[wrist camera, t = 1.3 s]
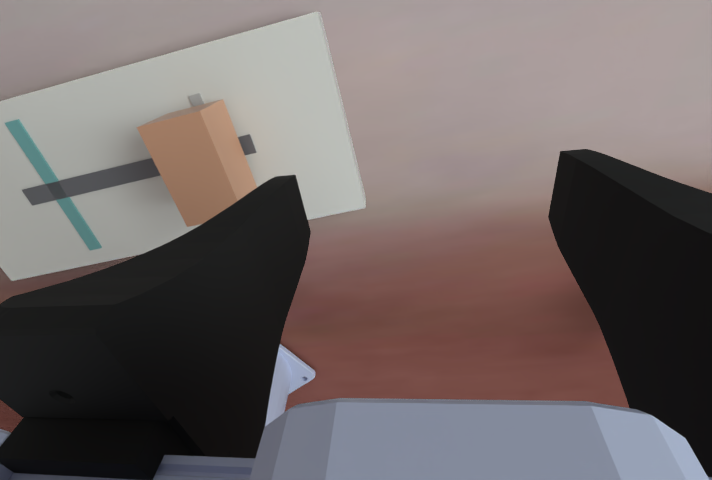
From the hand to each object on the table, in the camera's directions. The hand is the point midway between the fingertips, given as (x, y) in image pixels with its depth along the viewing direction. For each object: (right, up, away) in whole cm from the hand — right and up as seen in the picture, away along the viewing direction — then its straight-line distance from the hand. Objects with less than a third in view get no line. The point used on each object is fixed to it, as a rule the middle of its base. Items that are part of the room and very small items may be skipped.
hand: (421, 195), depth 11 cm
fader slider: (-9, +3, +9) cm, 14 cm away
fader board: (-14, +3, +12) cm, 19 cm away
